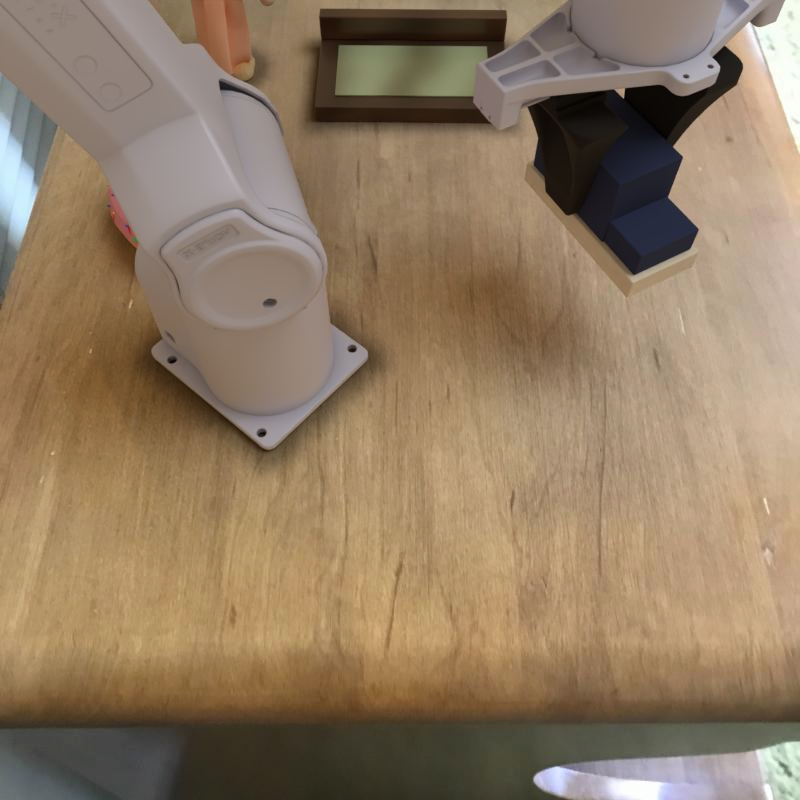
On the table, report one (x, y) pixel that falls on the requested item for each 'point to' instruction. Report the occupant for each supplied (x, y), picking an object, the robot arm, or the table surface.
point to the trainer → (629, 207)
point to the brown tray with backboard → (404, 63)
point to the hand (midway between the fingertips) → (595, 186)
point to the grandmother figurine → (226, 34)
